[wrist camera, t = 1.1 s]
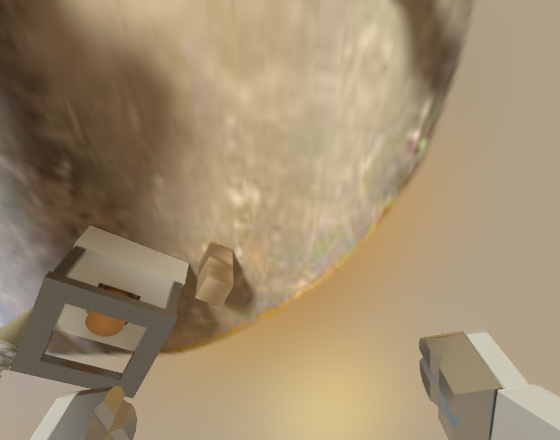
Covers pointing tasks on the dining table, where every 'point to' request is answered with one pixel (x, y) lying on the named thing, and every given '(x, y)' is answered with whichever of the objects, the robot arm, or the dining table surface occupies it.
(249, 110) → the dining table surface
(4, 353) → the ice cream cone
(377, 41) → the dining table surface
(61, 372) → the guard frame
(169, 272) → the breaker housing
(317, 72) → the dining table surface
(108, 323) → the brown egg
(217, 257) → the wooden toy block
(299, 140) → the dining table surface
